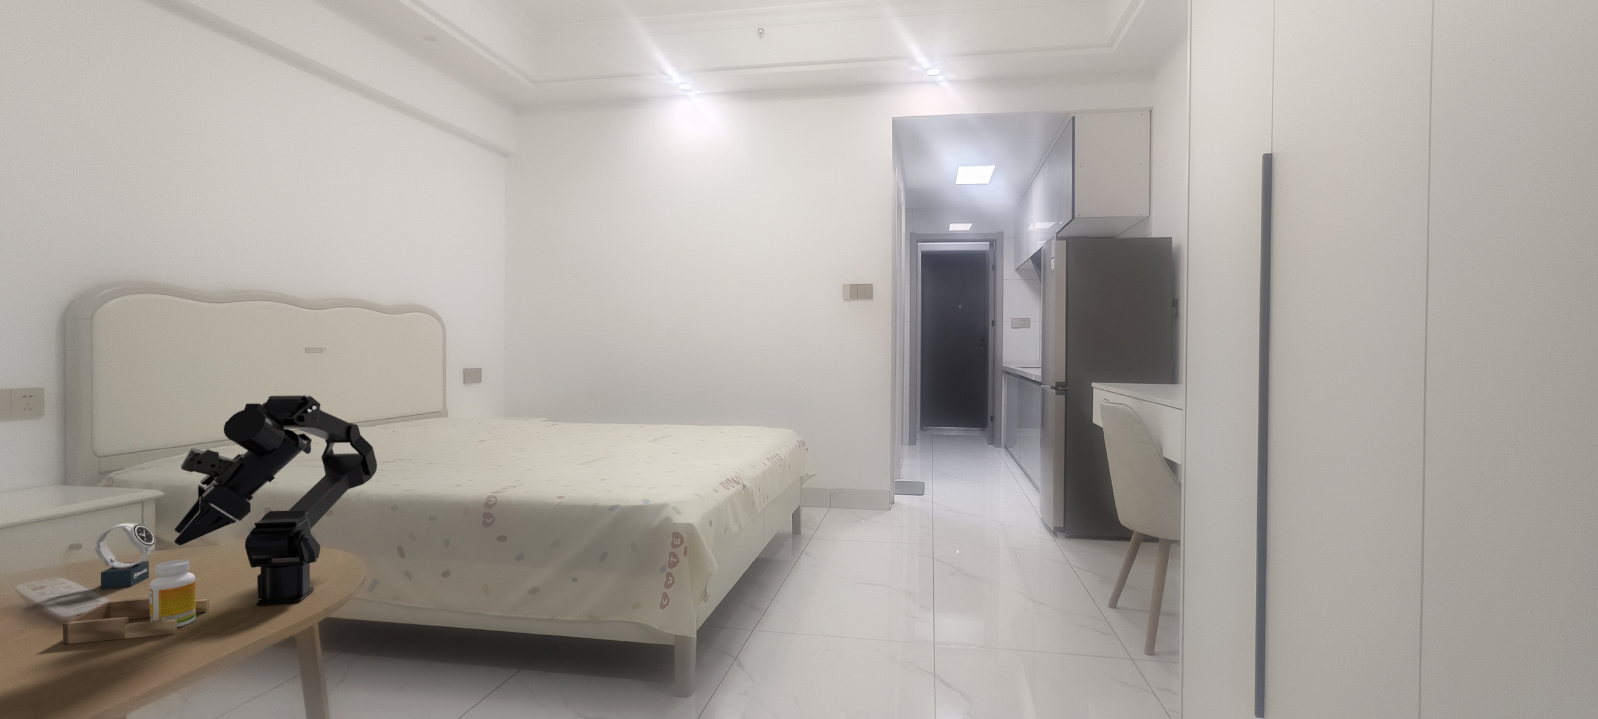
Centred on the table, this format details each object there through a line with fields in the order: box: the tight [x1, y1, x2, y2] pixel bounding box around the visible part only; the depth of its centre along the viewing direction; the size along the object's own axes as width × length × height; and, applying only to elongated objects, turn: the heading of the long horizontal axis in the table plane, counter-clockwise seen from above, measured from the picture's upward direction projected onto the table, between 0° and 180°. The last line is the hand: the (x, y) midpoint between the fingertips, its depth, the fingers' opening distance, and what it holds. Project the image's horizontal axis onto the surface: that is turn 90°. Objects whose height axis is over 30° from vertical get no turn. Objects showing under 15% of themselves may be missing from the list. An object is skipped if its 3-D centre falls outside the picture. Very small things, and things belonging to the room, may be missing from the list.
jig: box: [62, 597, 210, 645], centre depth 107 cm, size 14×10×3 cm
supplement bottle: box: [149, 559, 197, 628], centre depth 108 cm, size 5×5×10 cm
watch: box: [94, 522, 157, 590], centre depth 126 cm, size 6×8×11 cm
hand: (176, 537), depth 108 cm, fingers open, 9 cm apart
